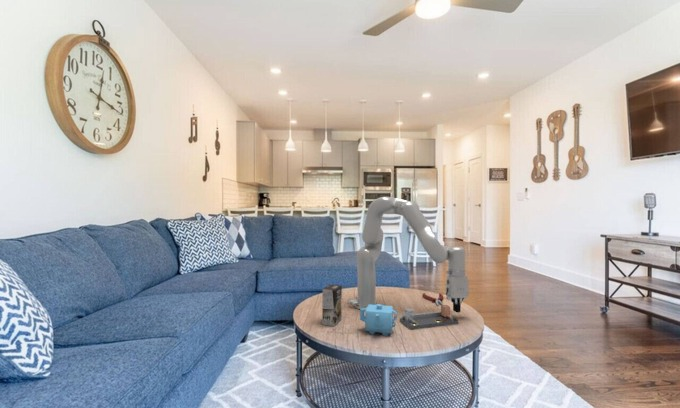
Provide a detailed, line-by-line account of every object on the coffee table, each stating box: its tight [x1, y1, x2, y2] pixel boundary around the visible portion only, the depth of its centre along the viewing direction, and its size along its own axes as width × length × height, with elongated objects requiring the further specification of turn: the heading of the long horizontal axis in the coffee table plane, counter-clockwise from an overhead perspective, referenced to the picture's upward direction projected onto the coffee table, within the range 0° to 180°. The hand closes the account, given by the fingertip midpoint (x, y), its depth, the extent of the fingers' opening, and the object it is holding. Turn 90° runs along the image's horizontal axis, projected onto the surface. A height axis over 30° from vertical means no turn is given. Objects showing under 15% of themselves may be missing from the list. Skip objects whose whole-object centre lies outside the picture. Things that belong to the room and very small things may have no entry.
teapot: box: [359, 303, 398, 337], centre depth 132 cm, size 16×18×11 cm
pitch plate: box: [399, 307, 459, 331], centre depth 142 cm, size 24×10×6 cm, turn 106°
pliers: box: [422, 293, 444, 307], centre depth 174 cm, size 12×20×3 cm, turn 178°
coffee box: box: [321, 284, 343, 327], centre depth 143 cm, size 9×6×16 cm
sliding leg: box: [440, 304, 453, 318], centre depth 145 cm, size 3×6×4 cm, turn 16°
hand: (456, 311), depth 148 cm, fingers closed
